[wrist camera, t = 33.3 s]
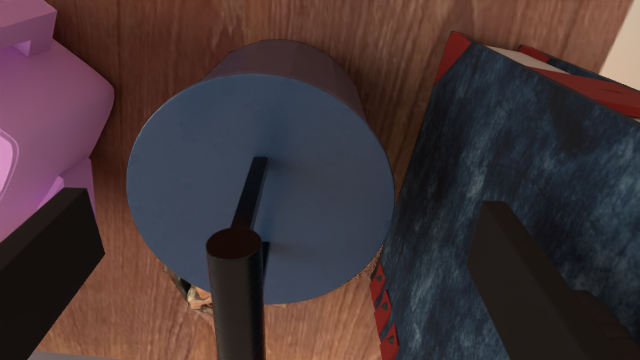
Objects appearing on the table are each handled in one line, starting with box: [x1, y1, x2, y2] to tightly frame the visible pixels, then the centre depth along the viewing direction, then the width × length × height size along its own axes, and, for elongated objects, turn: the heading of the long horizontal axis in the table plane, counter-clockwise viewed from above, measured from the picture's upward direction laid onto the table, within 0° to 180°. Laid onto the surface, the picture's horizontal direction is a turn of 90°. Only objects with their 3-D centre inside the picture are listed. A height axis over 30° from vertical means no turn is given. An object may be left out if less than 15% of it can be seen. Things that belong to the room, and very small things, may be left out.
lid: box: [126, 71, 395, 360], centre depth 18 cm, size 14×14×9 cm
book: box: [370, 31, 640, 360], centre depth 23 cm, size 25×7×25 cm, turn 170°
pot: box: [204, 39, 367, 121], centre depth 26 cm, size 13×13×12 cm
